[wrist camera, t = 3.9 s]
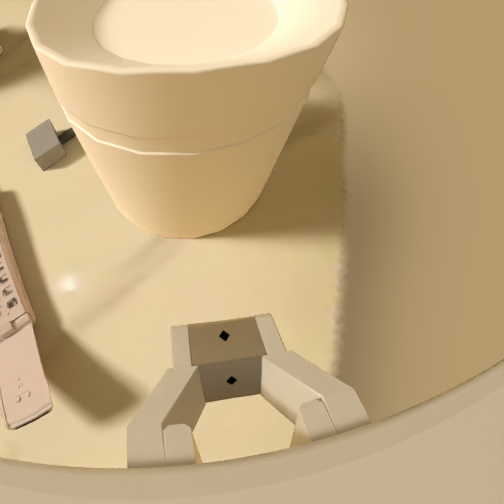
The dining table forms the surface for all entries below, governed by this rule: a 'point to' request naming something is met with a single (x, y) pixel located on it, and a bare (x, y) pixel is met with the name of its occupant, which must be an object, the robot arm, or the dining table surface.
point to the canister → (183, 96)
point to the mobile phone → (18, 348)
